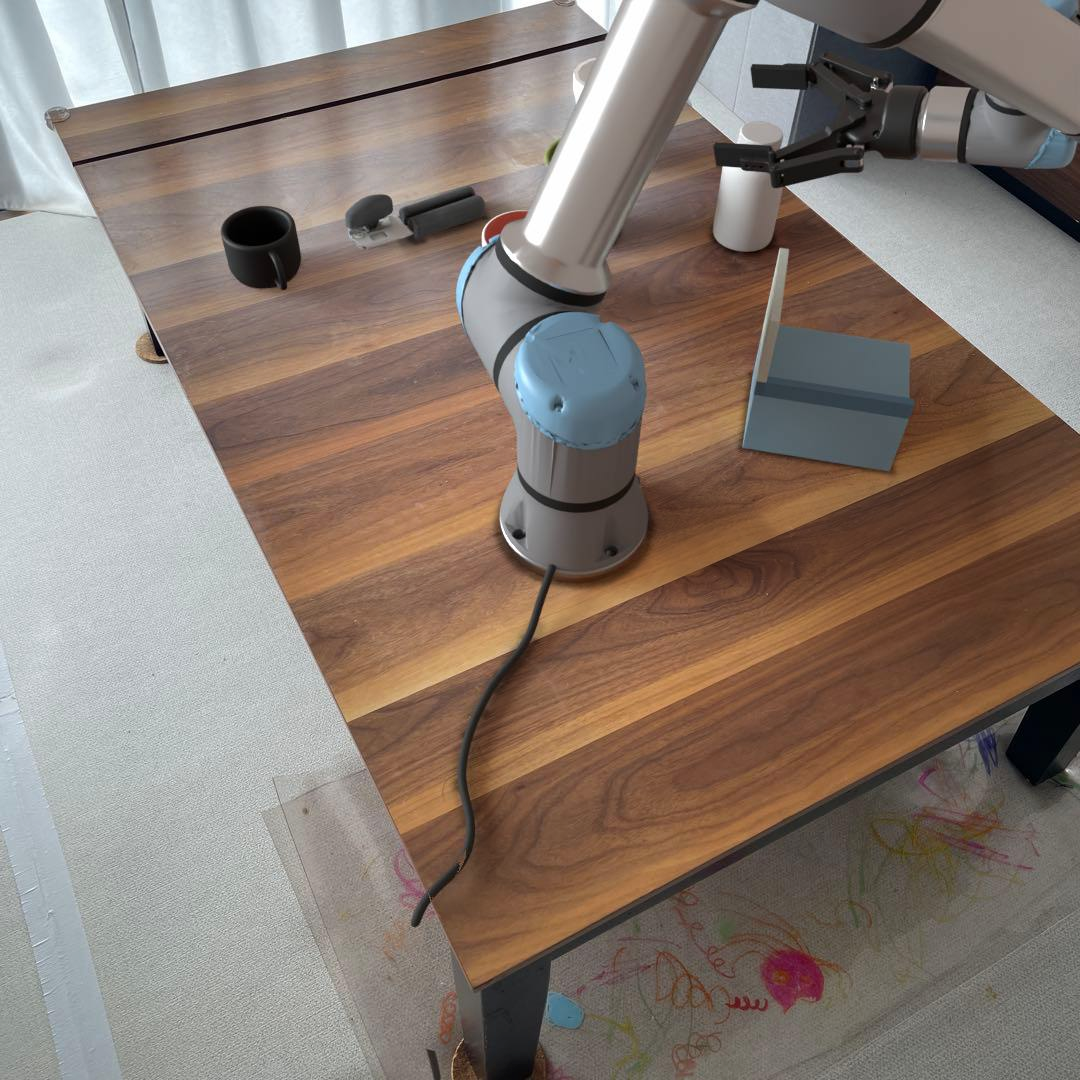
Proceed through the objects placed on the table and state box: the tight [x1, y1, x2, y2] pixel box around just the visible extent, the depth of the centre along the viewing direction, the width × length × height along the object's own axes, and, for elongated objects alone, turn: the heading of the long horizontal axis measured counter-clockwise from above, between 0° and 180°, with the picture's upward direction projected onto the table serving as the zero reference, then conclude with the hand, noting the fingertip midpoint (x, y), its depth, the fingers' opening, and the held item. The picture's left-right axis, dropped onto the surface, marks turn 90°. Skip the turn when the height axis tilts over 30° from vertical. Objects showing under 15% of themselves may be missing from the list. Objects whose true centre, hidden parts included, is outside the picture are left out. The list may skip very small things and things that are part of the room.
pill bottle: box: [712, 120, 784, 253], centre depth 142 cm, size 8×8×15 cm
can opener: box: [344, 185, 486, 251], centre depth 145 cm, size 19×5×6 cm, turn 122°
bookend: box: [741, 247, 915, 472], centre depth 119 cm, size 12×16×18 cm
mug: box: [220, 205, 302, 291], centre depth 138 cm, size 12×9×7 cm
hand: (734, 114), depth 129 cm, fingers open, 13 cm apart
